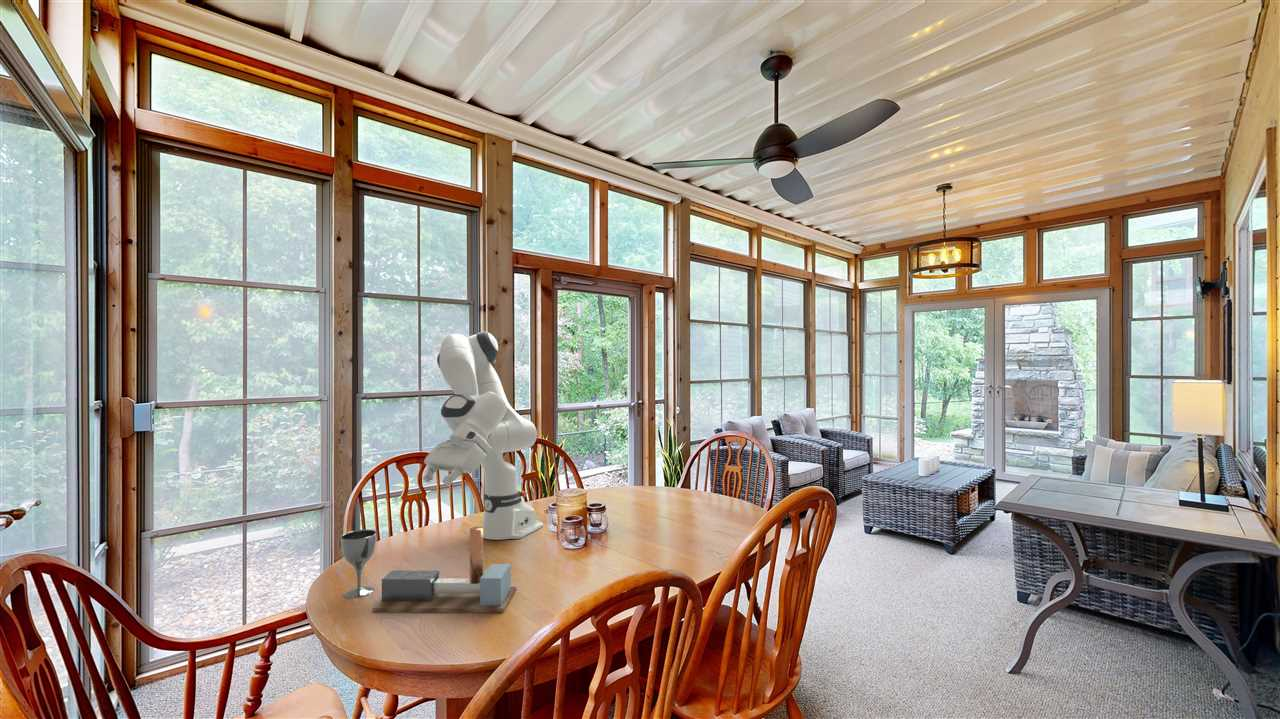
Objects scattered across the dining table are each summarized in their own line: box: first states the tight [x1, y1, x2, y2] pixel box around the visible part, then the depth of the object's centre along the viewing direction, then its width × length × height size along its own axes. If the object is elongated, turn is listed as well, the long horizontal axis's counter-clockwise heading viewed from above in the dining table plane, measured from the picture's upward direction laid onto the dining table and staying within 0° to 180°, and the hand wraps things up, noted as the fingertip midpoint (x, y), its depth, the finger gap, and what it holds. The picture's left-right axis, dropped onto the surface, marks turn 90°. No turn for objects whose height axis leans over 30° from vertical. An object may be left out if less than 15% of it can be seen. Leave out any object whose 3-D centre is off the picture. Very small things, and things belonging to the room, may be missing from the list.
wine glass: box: [340, 528, 377, 599], centre depth 136 cm, size 8×8×15 cm
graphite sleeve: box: [381, 569, 440, 602], centre depth 131 cm, size 12×5×5 cm, turn 89°
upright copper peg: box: [432, 526, 484, 594], centre depth 131 cm, size 18×3×16 cm, turn 89°
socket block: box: [480, 563, 512, 605], centre depth 131 cm, size 5×9×6 cm, turn 179°
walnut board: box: [372, 586, 517, 614], centre depth 131 cm, size 31×12×1 cm, turn 89°
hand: (435, 482), depth 138 cm, fingers open, 8 cm apart
